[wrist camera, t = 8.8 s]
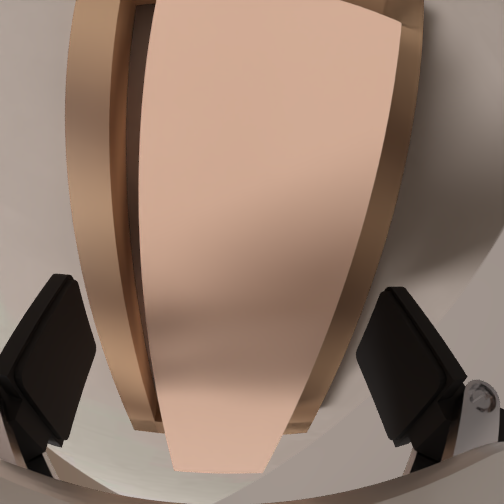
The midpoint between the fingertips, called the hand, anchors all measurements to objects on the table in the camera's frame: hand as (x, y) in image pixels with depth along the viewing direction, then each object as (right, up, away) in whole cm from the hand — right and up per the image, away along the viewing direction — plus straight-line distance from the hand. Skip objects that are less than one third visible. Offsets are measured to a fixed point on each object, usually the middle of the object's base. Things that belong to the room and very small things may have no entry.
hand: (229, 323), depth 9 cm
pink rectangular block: (0, +2, +3) cm, 4 cm away
